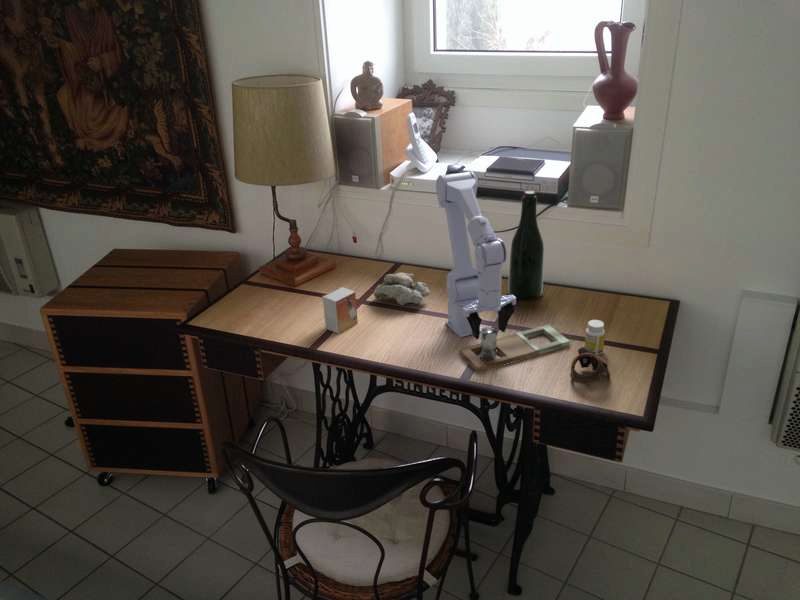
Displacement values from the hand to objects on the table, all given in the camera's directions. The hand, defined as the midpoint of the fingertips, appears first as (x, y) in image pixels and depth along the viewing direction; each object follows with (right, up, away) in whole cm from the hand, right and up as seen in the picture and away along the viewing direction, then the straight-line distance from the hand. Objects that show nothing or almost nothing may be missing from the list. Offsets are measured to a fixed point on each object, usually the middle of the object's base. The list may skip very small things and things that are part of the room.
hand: (489, 333), depth 176 cm
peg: (0, -6, +3) cm, 7 cm away
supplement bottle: (+28, -5, +4) cm, 29 cm away
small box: (-40, +1, +22) cm, 45 cm away
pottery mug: (+24, -11, -6) cm, 27 cm away
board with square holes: (+8, -5, +6) cm, 11 cm away
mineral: (-22, +8, +34) cm, 41 cm away
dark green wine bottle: (+16, +10, +34) cm, 39 cm away
